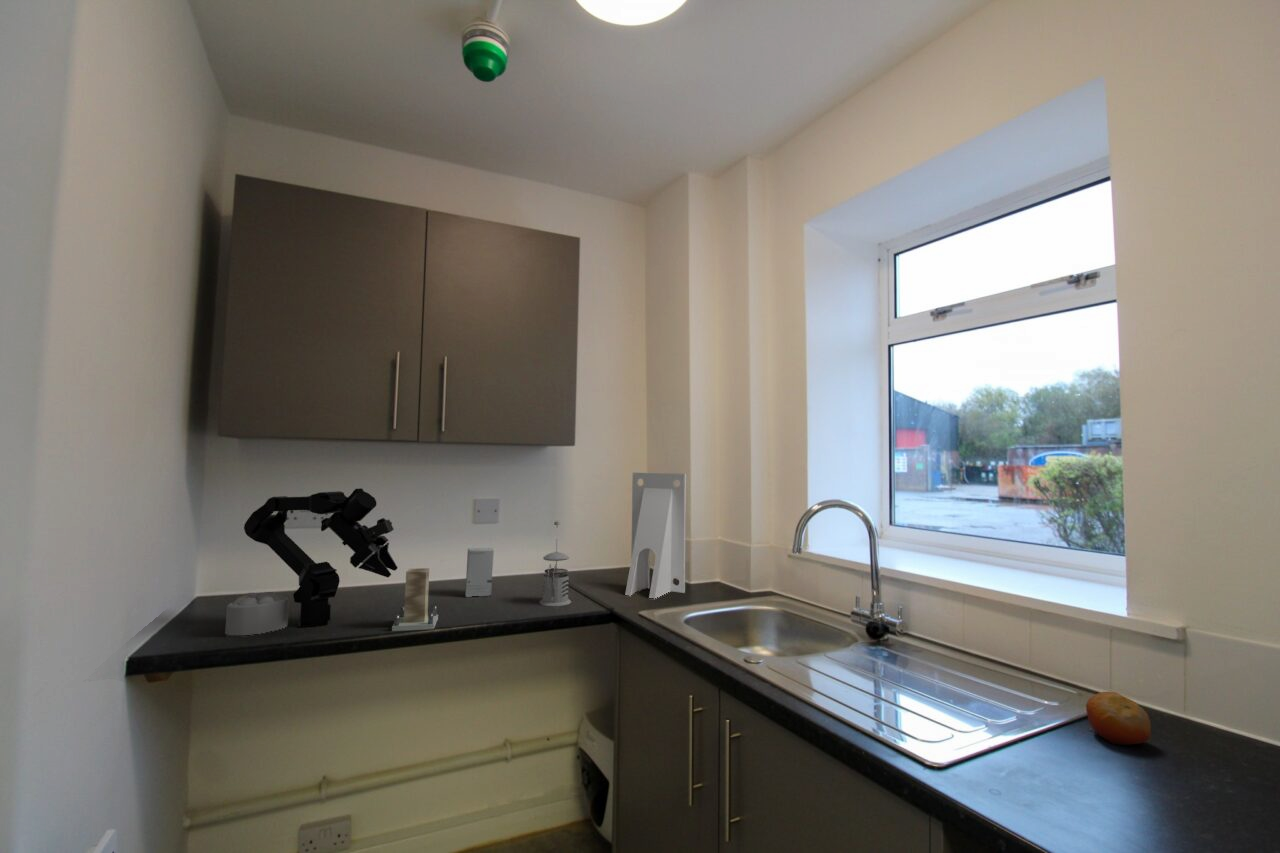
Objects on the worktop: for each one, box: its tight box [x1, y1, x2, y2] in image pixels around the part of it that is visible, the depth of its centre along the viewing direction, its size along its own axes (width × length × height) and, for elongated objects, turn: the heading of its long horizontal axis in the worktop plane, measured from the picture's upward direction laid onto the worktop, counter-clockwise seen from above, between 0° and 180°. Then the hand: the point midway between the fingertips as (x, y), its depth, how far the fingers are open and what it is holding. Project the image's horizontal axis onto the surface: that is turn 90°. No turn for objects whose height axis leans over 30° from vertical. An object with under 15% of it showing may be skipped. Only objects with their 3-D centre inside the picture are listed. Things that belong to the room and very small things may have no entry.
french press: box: [539, 520, 572, 607], centre depth 179 cm, size 10×12×25 cm
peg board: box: [391, 604, 439, 632], centre depth 153 cm, size 10×10×4 cm
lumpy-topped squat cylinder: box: [224, 591, 290, 636], centre depth 147 cm, size 10×13×9 cm
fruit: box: [1085, 691, 1152, 746], centre depth 93 cm, size 8×8×8 cm
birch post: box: [404, 567, 430, 623], centre depth 153 cm, size 5×5×13 cm
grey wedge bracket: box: [624, 472, 687, 600], centre depth 194 cm, size 20×14×40 cm
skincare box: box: [464, 547, 495, 598], centre depth 188 cm, size 8×6×15 cm
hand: (393, 572), depth 153 cm, fingers open, 9 cm apart
